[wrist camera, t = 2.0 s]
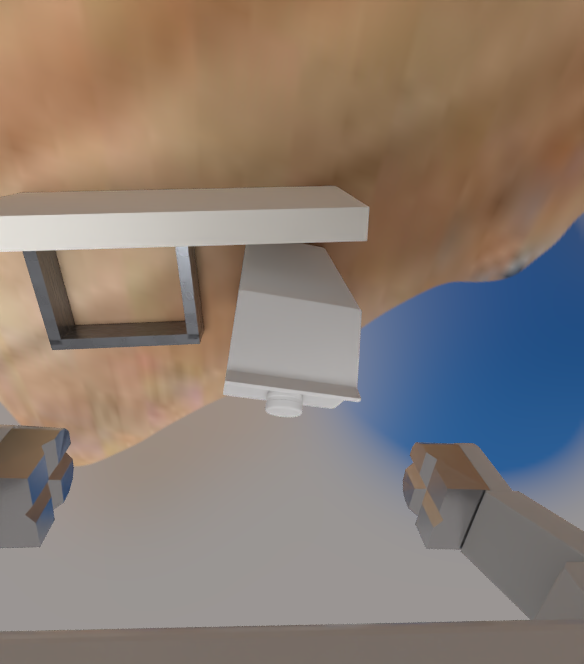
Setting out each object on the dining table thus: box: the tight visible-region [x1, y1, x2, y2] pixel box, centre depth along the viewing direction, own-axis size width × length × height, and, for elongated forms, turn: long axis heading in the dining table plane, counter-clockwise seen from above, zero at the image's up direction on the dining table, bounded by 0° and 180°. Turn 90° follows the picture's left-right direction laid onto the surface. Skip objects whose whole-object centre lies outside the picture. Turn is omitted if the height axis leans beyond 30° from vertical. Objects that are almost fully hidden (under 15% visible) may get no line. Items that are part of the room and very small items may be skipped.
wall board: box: [0, 186, 369, 252], centre depth 29 cm, size 26×2×12 cm, turn 91°
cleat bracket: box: [23, 246, 204, 350], centre depth 36 cm, size 13×10×3 cm
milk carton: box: [223, 243, 362, 417], centre depth 29 cm, size 7×7×19 cm
